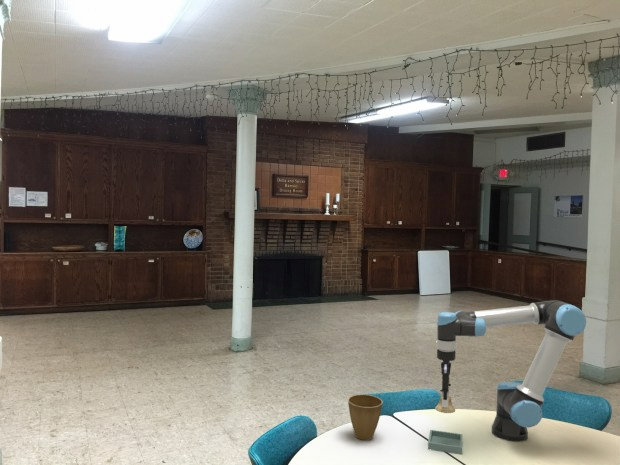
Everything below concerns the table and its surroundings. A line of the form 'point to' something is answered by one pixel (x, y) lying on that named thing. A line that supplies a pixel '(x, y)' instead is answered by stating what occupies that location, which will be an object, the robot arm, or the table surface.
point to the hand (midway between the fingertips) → (445, 404)
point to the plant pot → (364, 414)
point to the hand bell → (445, 409)
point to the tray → (445, 441)
